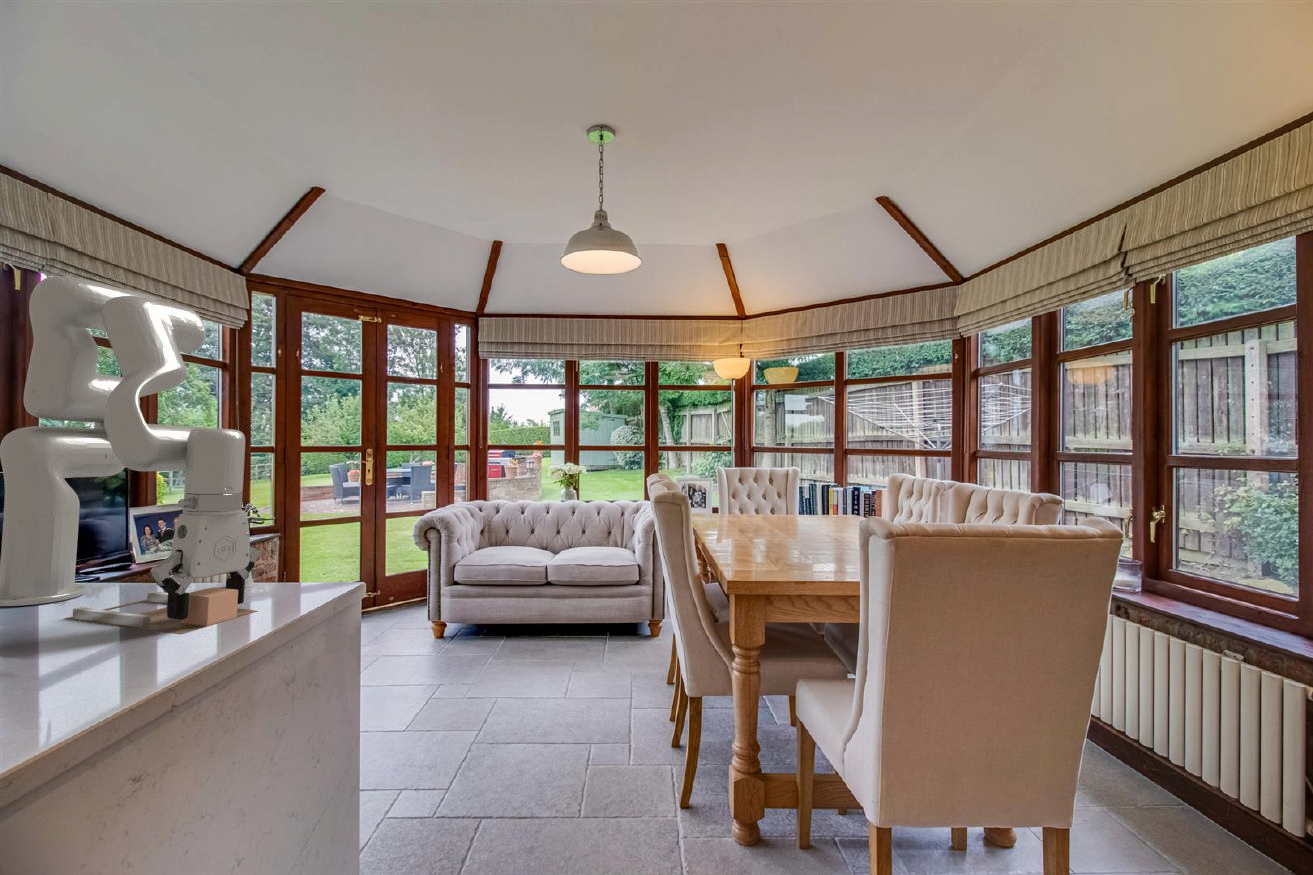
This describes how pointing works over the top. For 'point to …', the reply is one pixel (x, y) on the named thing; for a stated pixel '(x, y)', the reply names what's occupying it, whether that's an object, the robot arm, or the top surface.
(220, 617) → the block
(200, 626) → the tan rectangular frame
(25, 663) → the top surface
